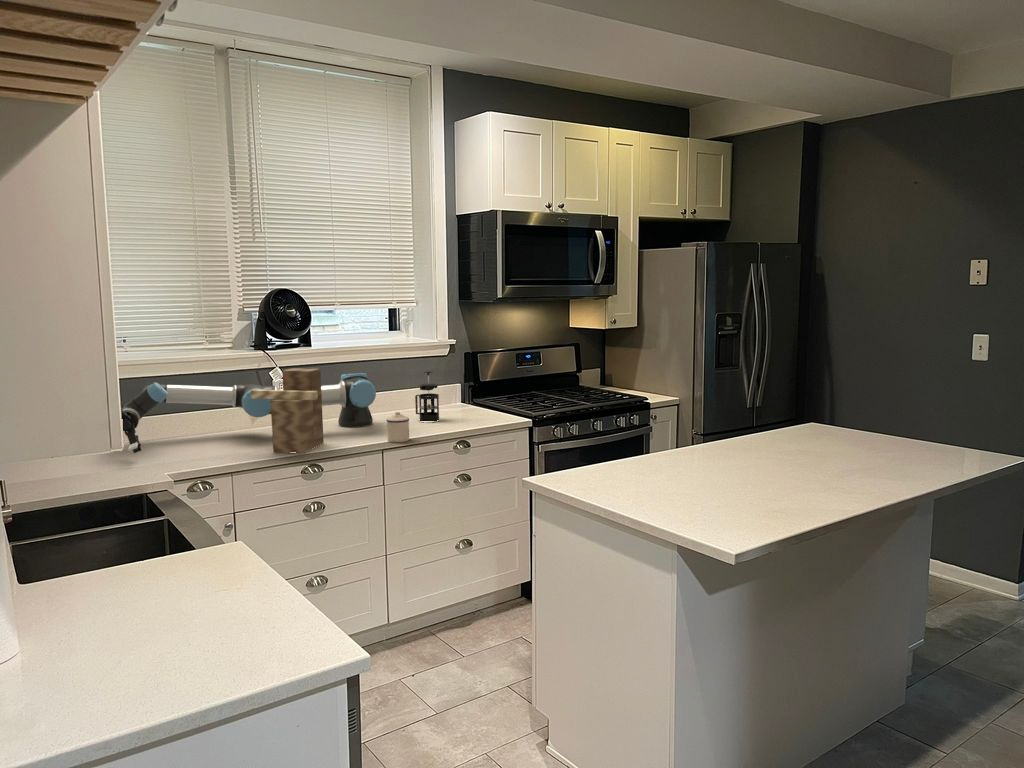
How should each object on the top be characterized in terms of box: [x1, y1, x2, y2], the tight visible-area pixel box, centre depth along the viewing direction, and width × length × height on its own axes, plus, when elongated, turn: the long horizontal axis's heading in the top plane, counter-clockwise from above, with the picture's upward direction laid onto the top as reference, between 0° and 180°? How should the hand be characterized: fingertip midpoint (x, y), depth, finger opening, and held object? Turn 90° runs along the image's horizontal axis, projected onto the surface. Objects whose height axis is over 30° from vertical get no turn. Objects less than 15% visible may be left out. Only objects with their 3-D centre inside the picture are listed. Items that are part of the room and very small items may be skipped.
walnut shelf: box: [270, 367, 325, 454], centre depth 289 cm, size 12×18×30 cm, turn 169°
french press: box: [414, 370, 440, 422], centre depth 343 cm, size 12×9×23 cm
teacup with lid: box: [385, 411, 410, 443], centre depth 304 cm, size 12×9×12 cm
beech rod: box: [251, 389, 318, 400], centre depth 285 cm, size 26×3×3 cm, turn 79°
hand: (123, 431), depth 261 cm, fingers open, 13 cm apart
